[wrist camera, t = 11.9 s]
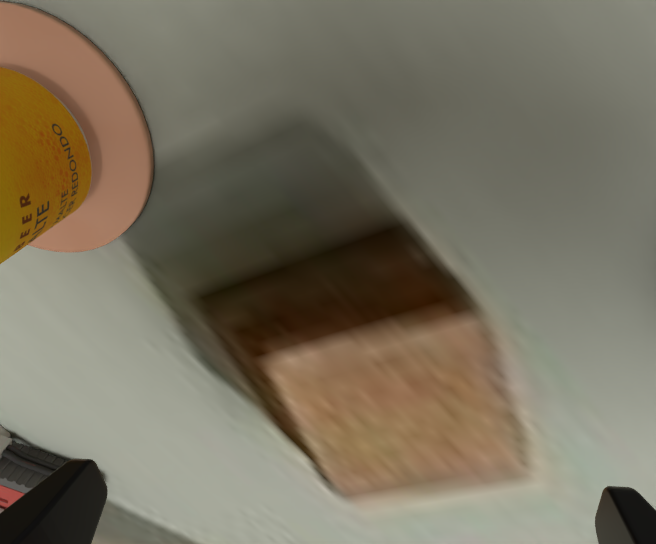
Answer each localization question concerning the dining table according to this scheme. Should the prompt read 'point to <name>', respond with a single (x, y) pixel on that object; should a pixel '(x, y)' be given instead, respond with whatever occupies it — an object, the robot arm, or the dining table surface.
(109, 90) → the peach dome cap
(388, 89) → the dining table surface
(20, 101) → the beer can
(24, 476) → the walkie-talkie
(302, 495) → the dining table surface
